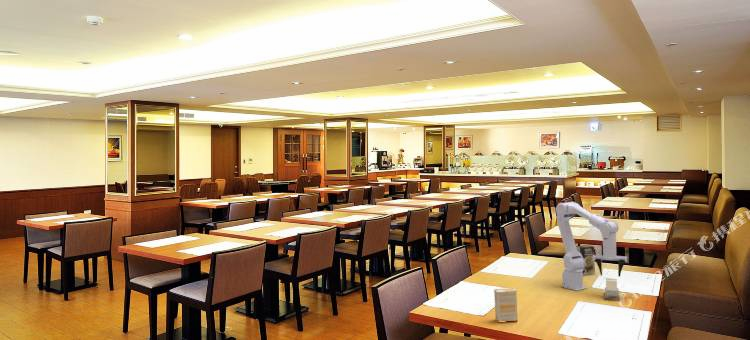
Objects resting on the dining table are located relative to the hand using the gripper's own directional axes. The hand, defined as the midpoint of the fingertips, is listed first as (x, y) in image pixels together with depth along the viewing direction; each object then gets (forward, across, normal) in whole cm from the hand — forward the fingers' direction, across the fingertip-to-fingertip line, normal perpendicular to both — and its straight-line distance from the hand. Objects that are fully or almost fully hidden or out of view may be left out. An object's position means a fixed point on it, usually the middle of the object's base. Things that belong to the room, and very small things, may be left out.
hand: (610, 275), depth 232 cm
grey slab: (+8, 0, -3) cm, 9 cm away
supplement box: (+11, -42, -48) cm, 65 cm away
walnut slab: (+11, 0, -3) cm, 11 cm away
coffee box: (+11, -11, +46) cm, 48 cm away
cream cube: (+6, 0, -3) cm, 6 cm away
